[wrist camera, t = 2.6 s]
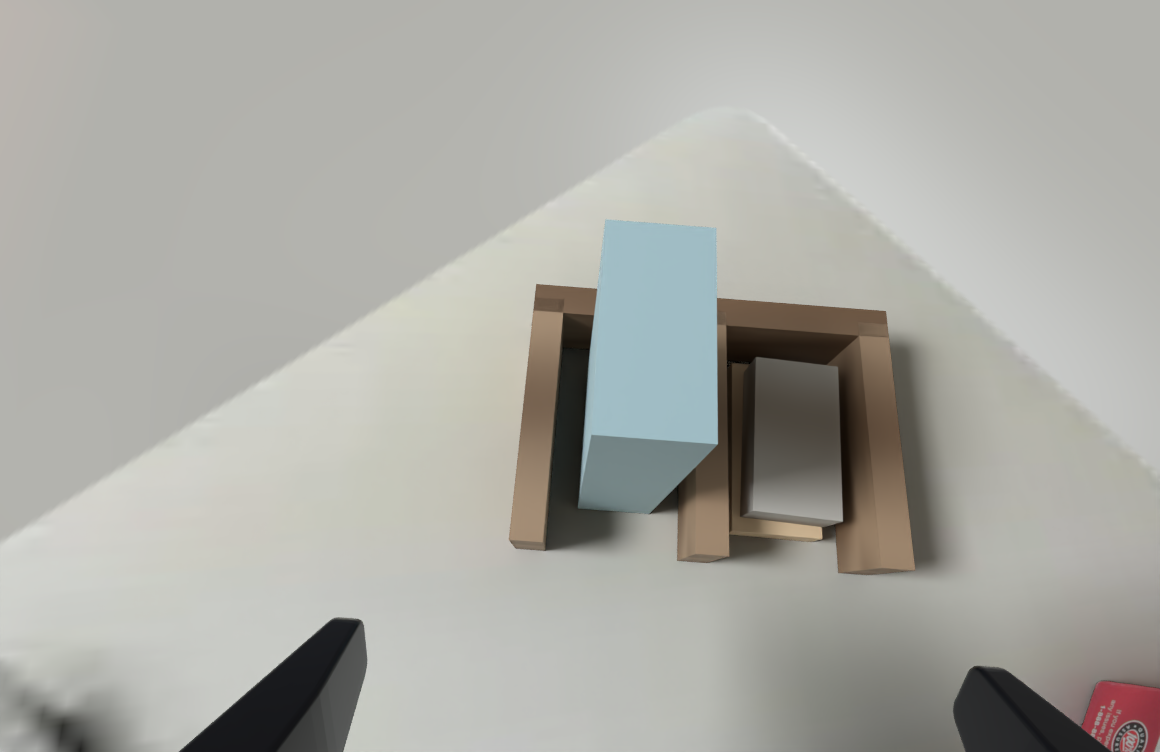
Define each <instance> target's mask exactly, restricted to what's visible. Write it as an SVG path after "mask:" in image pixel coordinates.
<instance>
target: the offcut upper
mask: <svg viewBox="0 0 1160 752" xmlns="http://www.w3.org/2000/svg"><path fill="white" fill-rule="evenodd" d="M740 517H744V518H752V519H760V520H768V521H776V522H784V523H793V524H801V525H809V526H817V527H826V526H830V525H833V524H837V523H840V522H843V509H842V476H841V444H840V412H839V380H838V367H836V366H828V365H820V364H811V363H803V362H794V361H786V360H778V359H769V358H761V357H756V358H755V359H754V360H753V361H752V363H751V364H750V365H749V366H748V368H747V369H746V370H745V371H744V382H743V420H742V458H741V496H740Z"/></svg>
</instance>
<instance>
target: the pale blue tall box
mask: <svg viewBox="0 0 1160 752" xmlns="http://www.w3.org/2000/svg"><path fill="white" fill-rule="evenodd" d="M717 445H718V398H717V261H716V228H709V227H696V226H683V225H670V224H657V223H645V222H632V221H619V220H605V228H604V237H603V245H602V253H601V262H600V270H599V279H598V287H597V296H596V304H595V312H594V321H593V329H592V338H591V346H590V355H589V363H588V372H587V384H586V398H585V412H584V426H583V440H582V454H581V468H580V483H579V497H578V508H579V509H592V510H605V511H618V512H631V513H645V514H650V513H651V511H652V510H653V509H654V508H655V507H656V506H657V505H658V504H659V503H660V502H661V501H662V500H663V499H664V498H665V497H666V496H667V495H668V494H669V493H670V492H671V491H672V490H673V489H674V488H675V487H676V486H677V485H678V484H679V483H680V482H681V481H682V480H683V479H684V478H685V477H686V476H687V475H688V474H689V473H690V472H691V471H692V470H693V469H694V468H695V467H696V466H697V465H698V464H699V463H700V462H701V461H702V460H703V459H704V458H705V457H706V456H707V455H708V454H709V453H710V452H711V451H712V450H713V449H714V448H715V447H716V446H717Z"/></svg>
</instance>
